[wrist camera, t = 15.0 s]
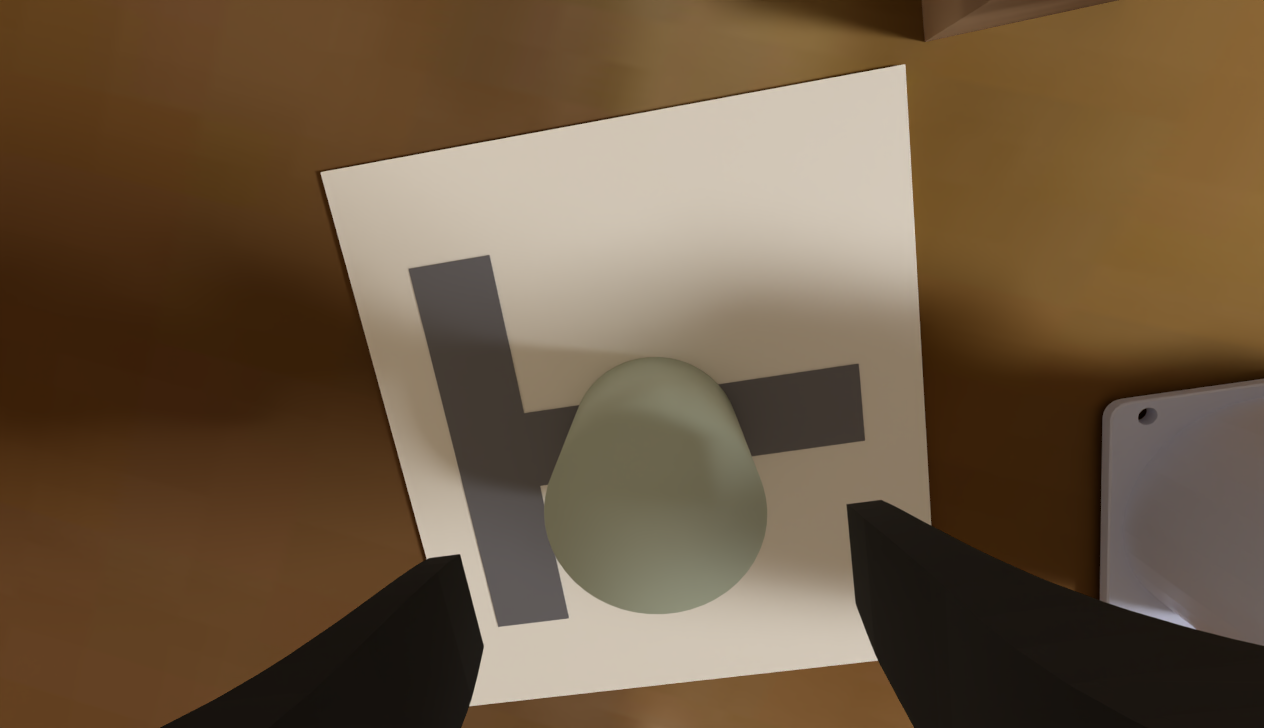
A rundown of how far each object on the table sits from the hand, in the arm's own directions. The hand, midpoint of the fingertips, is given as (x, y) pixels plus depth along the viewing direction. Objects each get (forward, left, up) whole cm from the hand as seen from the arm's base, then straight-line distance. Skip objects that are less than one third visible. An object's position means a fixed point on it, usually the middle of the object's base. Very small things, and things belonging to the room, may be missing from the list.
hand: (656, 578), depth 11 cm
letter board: (0, 0, -8) cm, 8 cm away
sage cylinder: (0, 0, -8) cm, 8 cm away
